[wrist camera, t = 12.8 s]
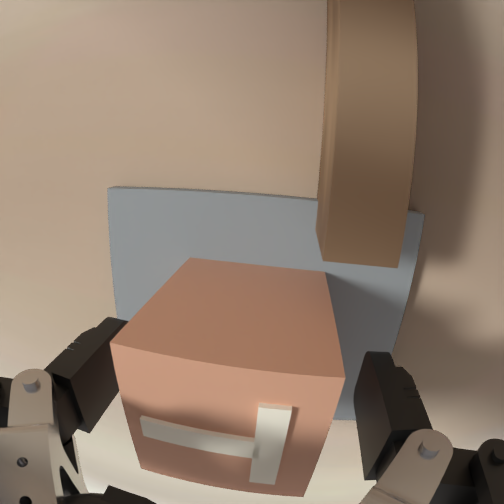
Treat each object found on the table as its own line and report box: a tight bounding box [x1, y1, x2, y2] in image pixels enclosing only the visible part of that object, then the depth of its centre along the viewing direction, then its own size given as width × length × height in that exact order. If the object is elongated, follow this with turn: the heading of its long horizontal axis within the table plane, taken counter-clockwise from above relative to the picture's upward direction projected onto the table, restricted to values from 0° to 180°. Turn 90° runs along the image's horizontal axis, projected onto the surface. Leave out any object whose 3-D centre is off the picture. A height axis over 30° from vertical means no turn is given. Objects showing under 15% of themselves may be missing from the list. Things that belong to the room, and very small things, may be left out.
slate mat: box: [108, 186, 425, 420], centre depth 13 cm, size 10×12×1 cm
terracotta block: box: [110, 257, 345, 497], centre depth 10 cm, size 5×5×6 cm
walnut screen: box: [315, 0, 418, 268], centre depth 7 cm, size 16×2×4 cm, turn 177°
